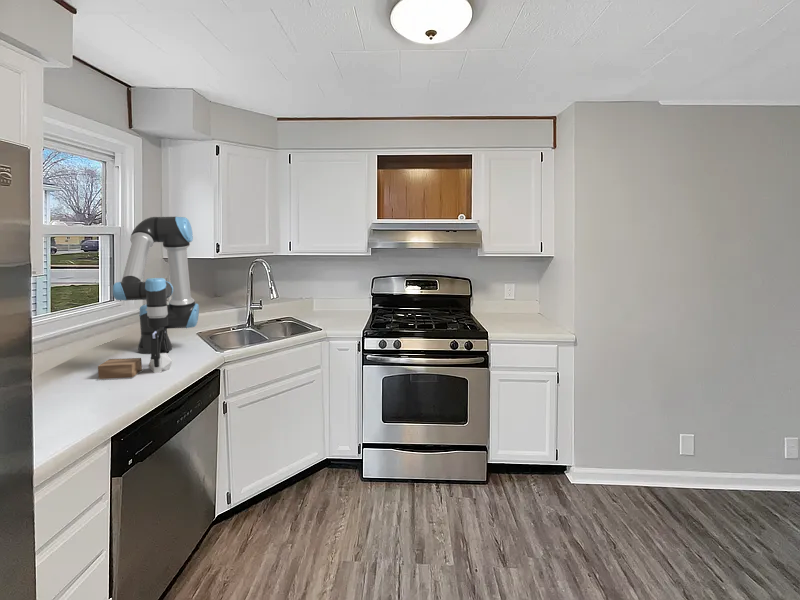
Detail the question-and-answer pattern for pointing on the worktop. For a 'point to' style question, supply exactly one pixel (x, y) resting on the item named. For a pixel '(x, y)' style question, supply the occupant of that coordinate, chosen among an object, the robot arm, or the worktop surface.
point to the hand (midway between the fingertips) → (161, 371)
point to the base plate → (119, 378)
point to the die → (162, 362)
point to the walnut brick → (120, 368)
